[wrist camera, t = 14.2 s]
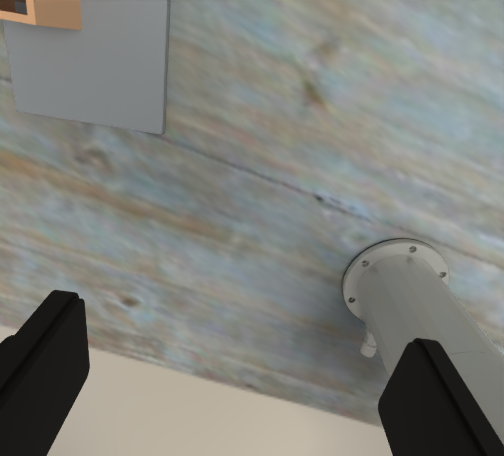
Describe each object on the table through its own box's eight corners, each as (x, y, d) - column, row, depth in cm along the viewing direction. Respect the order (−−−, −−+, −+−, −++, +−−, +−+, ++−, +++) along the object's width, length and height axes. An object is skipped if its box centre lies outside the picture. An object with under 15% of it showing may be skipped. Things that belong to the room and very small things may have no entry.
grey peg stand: (164, 132, 35) (128, 164, 25) (23, 109, 34) (-72, 133, 24) (173, -67, 28) (126, -132, 18) (-6, -102, 27) (-159, -190, 17)
